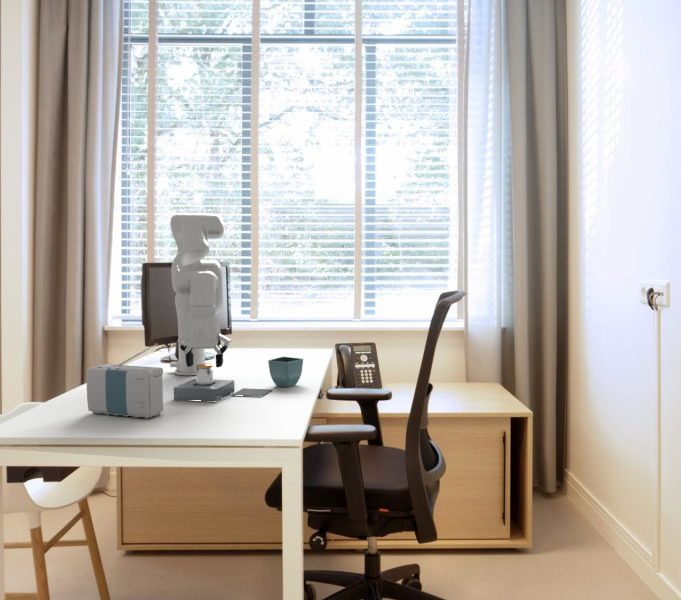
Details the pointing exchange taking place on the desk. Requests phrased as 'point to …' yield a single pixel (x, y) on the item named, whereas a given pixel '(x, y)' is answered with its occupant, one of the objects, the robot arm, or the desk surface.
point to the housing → (204, 390)
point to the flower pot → (285, 370)
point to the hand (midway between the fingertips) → (204, 366)
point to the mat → (252, 392)
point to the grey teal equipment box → (125, 389)
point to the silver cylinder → (204, 374)
